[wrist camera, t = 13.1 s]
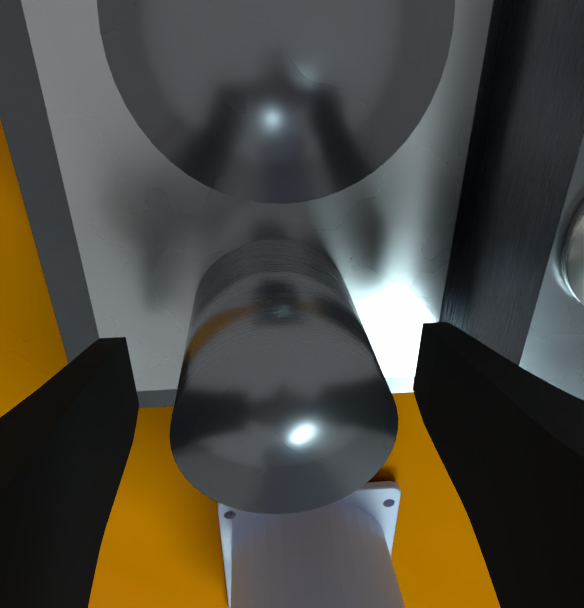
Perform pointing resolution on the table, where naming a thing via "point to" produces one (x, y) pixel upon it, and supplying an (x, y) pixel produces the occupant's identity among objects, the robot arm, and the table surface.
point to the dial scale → (318, 200)
